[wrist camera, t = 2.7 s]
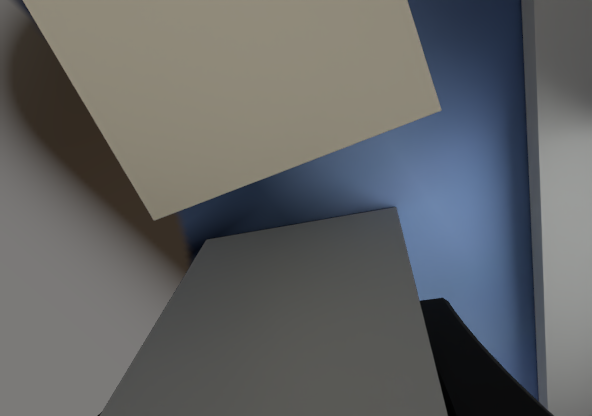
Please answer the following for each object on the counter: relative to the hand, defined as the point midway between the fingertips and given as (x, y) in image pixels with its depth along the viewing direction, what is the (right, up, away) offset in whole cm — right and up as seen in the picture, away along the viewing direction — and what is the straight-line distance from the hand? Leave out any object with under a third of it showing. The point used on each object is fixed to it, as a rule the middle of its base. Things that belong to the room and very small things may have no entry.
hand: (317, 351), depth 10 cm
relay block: (-1, +7, -1) cm, 7 cm away
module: (0, +1, +1) cm, 1 cm away
